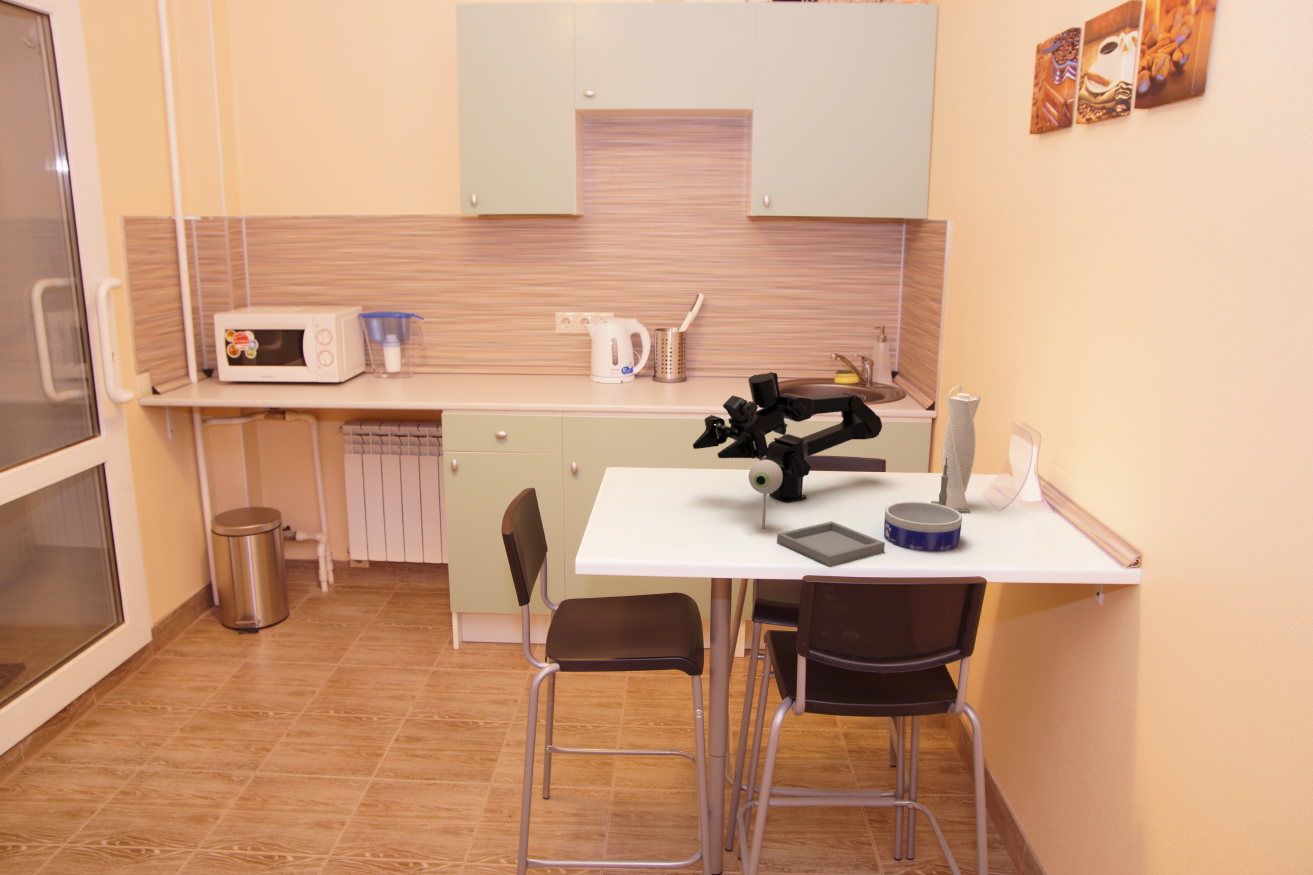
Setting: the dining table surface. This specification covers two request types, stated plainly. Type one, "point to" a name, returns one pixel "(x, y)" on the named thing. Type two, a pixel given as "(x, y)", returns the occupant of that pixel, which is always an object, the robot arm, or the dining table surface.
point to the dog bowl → (922, 526)
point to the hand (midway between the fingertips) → (705, 451)
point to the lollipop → (765, 480)
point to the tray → (830, 543)
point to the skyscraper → (958, 451)
